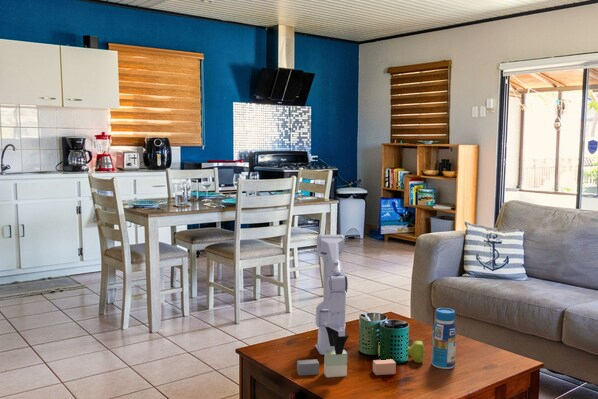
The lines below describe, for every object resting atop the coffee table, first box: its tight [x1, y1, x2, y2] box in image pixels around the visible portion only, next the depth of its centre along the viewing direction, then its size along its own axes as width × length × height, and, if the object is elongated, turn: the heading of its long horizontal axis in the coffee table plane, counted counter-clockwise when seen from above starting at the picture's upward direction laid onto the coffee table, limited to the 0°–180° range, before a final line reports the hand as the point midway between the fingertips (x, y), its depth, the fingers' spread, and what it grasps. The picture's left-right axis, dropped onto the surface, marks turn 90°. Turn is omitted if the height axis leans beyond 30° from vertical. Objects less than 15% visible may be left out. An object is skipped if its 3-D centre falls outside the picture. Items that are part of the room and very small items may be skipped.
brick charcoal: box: [296, 358, 320, 376], centre depth 201 cm, size 4×7×4 cm, turn 101°
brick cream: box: [323, 362, 348, 378], centre depth 200 cm, size 4×7×4 cm, turn 101°
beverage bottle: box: [431, 307, 458, 370], centre depth 209 cm, size 8×8×20 cm
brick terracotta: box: [372, 358, 397, 376], centre depth 202 cm, size 4×7×4 cm, turn 101°
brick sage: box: [323, 349, 348, 366], centre depth 200 cm, size 4×7×4 cm, turn 101°
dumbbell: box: [377, 340, 425, 364], centre depth 214 cm, size 16×8×7 cm, turn 78°
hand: (335, 350), depth 199 cm, fingers open, 7 cm apart
